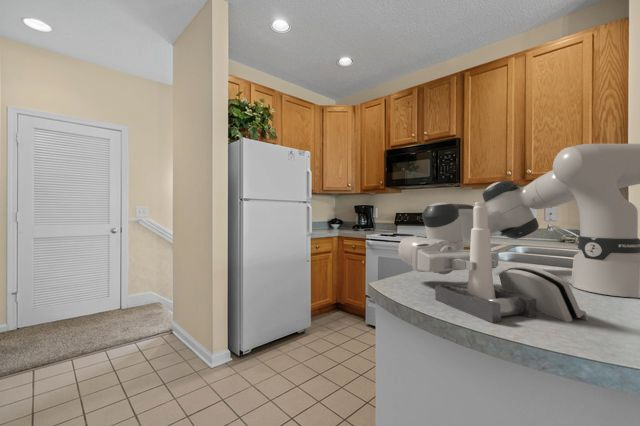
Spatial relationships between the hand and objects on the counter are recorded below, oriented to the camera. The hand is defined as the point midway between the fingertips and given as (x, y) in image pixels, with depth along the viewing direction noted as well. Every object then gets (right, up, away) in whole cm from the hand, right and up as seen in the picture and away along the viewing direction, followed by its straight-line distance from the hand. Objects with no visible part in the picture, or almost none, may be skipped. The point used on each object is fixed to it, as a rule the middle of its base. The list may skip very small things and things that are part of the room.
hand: (484, 265), depth 65 cm
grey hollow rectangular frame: (0, -9, +1) cm, 9 cm away
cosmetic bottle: (0, -8, +1) cm, 8 cm away
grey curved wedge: (+12, -10, 0) cm, 15 cm away
